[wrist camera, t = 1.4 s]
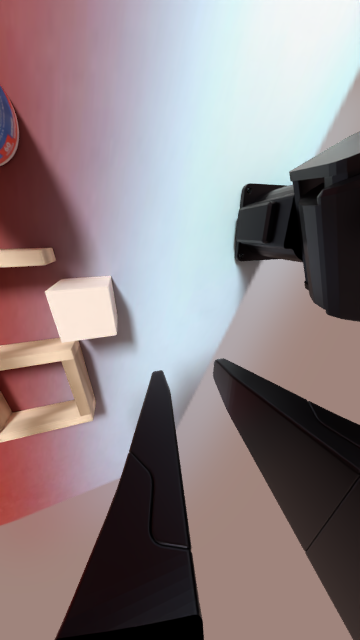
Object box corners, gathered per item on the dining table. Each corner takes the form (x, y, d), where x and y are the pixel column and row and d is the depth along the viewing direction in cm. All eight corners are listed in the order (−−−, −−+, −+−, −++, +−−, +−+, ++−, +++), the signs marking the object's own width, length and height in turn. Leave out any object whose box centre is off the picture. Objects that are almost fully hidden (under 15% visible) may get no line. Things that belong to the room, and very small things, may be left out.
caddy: (52, 247, 15) (40, 250, 13) (95, 402, 22) (93, 420, 20) (-98, 251, 13) (-144, 255, 10) (5, 421, 20) (-10, 444, 18)
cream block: (110, 275, 17) (108, 286, 13) (117, 315, 19) (116, 335, 15) (61, 278, 16) (44, 291, 12) (73, 321, 18) (61, 342, 14)
